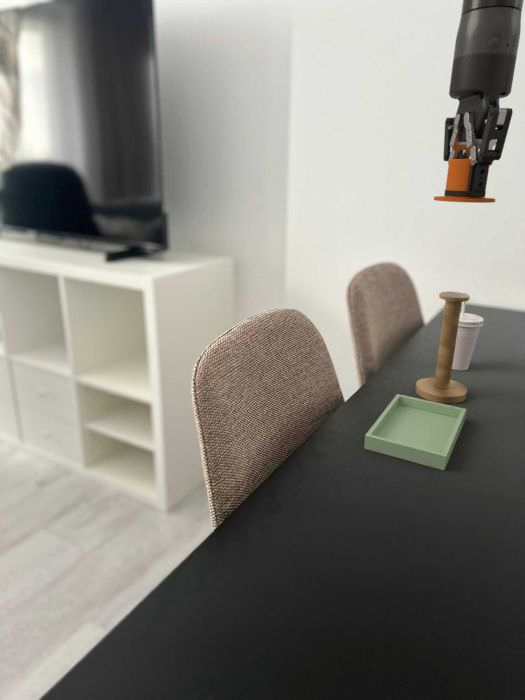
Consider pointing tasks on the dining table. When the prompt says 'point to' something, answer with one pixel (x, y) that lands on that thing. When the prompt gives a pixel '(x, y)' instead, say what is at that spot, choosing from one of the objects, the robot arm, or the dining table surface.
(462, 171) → the hat
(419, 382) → the hat stand
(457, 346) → the smoothie
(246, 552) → the dining table surface
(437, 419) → the tray
